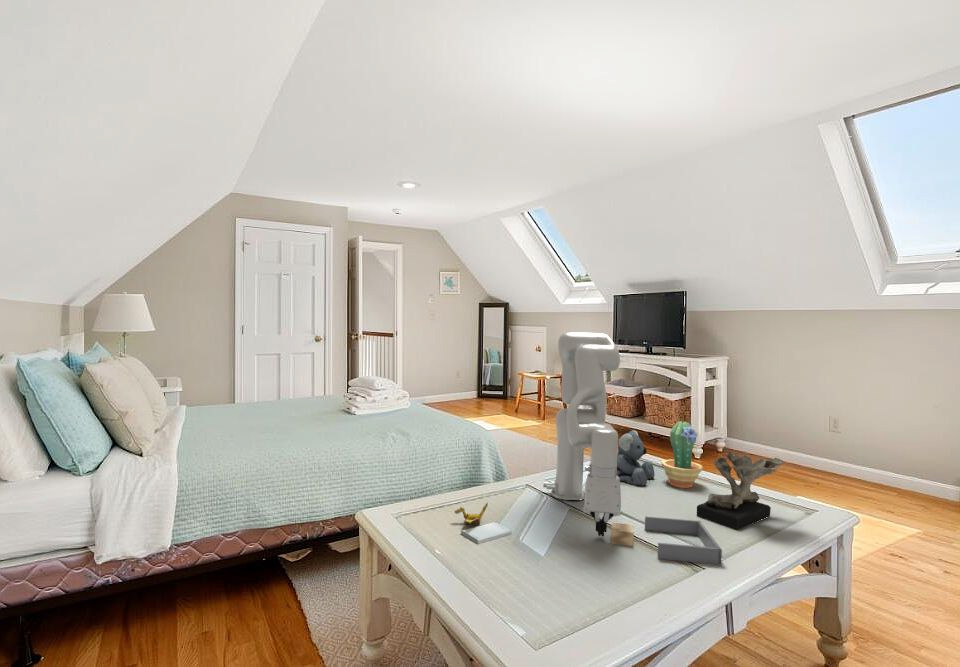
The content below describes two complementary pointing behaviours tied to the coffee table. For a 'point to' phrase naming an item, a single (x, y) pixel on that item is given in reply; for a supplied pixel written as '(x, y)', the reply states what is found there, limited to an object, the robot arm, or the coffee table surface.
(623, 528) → the wooden block
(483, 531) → the hard drive
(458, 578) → the coffee table surface
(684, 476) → the potted cactus
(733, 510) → the coral
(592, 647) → the coffee table surface
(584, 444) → the robot arm
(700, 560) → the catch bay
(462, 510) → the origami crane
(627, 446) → the koala plush
